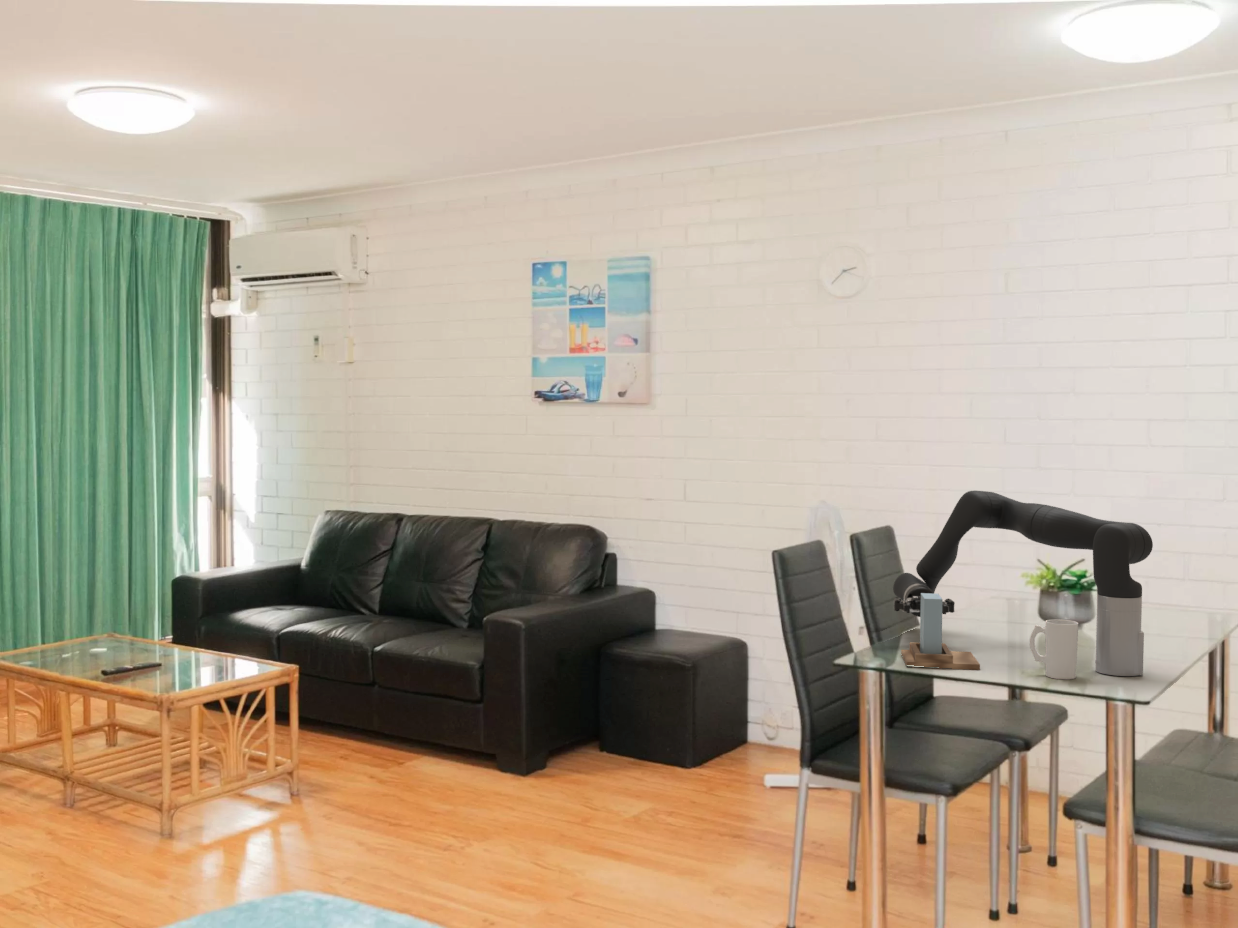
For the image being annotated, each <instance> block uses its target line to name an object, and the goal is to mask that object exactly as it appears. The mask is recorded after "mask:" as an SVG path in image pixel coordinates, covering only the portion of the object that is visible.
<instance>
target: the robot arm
mask: <svg viewBox="0 0 1238 928" xmlns="http://www.w3.org/2000/svg"><path fill="white" fill-rule="evenodd" d="M973 528H979V529H1002V530H1007V531H1008V530H1009V531H1013V532H1017V533H1020V534H1021V535H1022V536H1024V537H1025V538H1026V539H1028V540H1030V541H1032V542H1035V543H1039V544H1042V545H1046V546H1048V547H1050V546H1051V547H1054V548H1063V549H1073V550H1089V551H1092V565H1093V566H1092V567H1093V580H1094V583H1095V586H1096V595H1097V596H1096V629H1095V630H1096V632H1095V633H1096V635H1095V637H1096V638H1095V639H1096V640H1095V671H1096V672H1097V673H1100V674H1104V675H1107V676H1115V677H1117V676H1118V677H1135V676H1143V675H1144V647H1145V645H1144V644H1145V643H1144V641H1145V632H1143V630H1142V616H1143V615H1142V608H1143V607H1142V606H1143V605H1142V604H1143V586H1142V584H1141V583H1140V582H1138V581H1136V580H1135V579H1133V577H1132V576H1131V573H1130V572H1131V571H1130V565H1135V564H1137V563H1140V562H1142V561H1144V560H1146V559H1147V558H1148V557H1149V556H1150V555H1151V553H1152V550H1153V548H1154V547H1153V546H1154V545H1153V539H1152V537H1151V535H1150V534H1149V532H1148V531H1147V530H1146V529H1145V528H1144V527H1143V526H1141V525H1139V524H1137V523H1134V522H1122V521H1121V522H1120V521H1113V520H1106V519H1105V520H1104V519H1101V518H1100V519H1099V518H1097V517H1093V516H1089V515H1086V514H1082V513H1079V512H1076V511H1073V510H1068V509H1065V508H1062V507H1057V506H1054V505H1053V506H1052V505H1048V504H1042V503H1036V502H1035V503H1034V502H1033V503H1032V502H1031V503H1030V502H1028V503H1027V502H1022V501H1018V500H1015V499H1013V498H1009V497H1007V496H1004V495H1002V494H1001V493H996V492H993V491H984V490H969V491H967V492H965V493H963V495H962V496H961V497H960V498H959V499H958V501H957V503H956V504H955V506H954V508H953V510H952V511H951V514H950V515H949V518H948V519H947V520H946V523H945V524H944V526H943V528H942V530H941V532H940V534H939V535H938V537H937V538H936V540H935V542H934V543H932V546H931V547H930V548H929V550H928V551H927V552H926V553H925V554H924V555H923V557H922V558H921V560H919V562H918V563H917V564H916V567H915V568H916V569H915V570H916V574H917V575H918V576H919V578H918V577H917V576H915V575H914V574H912V573H909V572H903V573H901V574H900V575H898V577H896V579H895V580H894V583H893V586H892V588H893V589H892V590H893V594H894V595H895V596H896V597H893V610H894V611H895V612H899V611H900V610H901V611H902V612H903V613H906V614H911V615H913V616H915V617H918V618H920V610H921V593H932V594H935V592H936V590H937V587H938V585H939V583H940V581H941V580H942V579H943V578H944V576H945V575H946V574H947V573H948V571H950V569H951V568H952V566H953V565H954V563H955V561H956V560H957V557H958V552H959V545H960V542H961V540H962V538H963V537H964V536H965V535H966V534H967V533H968V532H969V531H970V530H972V529H973ZM920 578H921V579H920ZM948 613H955V601H954V600H952V599H951V598H945V599H944V601H943V600H942V615H947V614H948Z"/></svg>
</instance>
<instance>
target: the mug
mask: <svg viewBox="0 0 1238 928" xmlns="http://www.w3.org/2000/svg"><path fill="white" fill-rule="evenodd" d="M1040 633H1043V634H1044V635H1045V654H1044V655H1041V654H1040V653H1039V652H1038V650H1037V648H1036V641H1035V640H1036V637H1037V636H1038V634H1040ZM1078 638H1079V622H1077V621H1075V620H1069V619H1047V620H1045V626H1044V627H1043V626H1042V625H1040V624H1039V625H1038V624H1035V625H1034V628H1033V629H1032V631H1031V634H1030V636H1029V647H1030V651H1031V653H1032V657H1033V659H1034V661H1035V662H1041V663H1043V664H1044V665H1045V676H1046V677H1048V678H1050V679H1056V680H1074V679H1076V677H1077V665H1078V644H1079V643H1078V642H1079V639H1078Z"/></svg>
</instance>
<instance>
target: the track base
mask: <svg viewBox="0 0 1238 928" xmlns="http://www.w3.org/2000/svg"><path fill="white" fill-rule="evenodd" d="M900 650H901V651H900V653H901V654H902V655H901V654H900V655H901V657H902V656H903V657H902V660H903V659H904V660H903V662H904V661H905V662H904V664H905V663H906V664H905V666H906V665H914V666H924V667H939V668H938V669H942V668H952V669H951V670H975V671H979V670H981V663H979V660H977V659H976V657H975V656H974V654H973V653H972V652H971V651H959V650H958V651H953V650H950V648H949V647H948V646H947V644H946V643H944V642H942V654H921V653H920V642H912V641H911V642H909V649H900Z"/></svg>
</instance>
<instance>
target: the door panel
mask: <svg viewBox="0 0 1238 928" xmlns="http://www.w3.org/2000/svg"><path fill="white" fill-rule="evenodd" d="M943 600H944V599H943V598H942V597H941V595H940V594H939V593H934V594H932V593H921V610H920V617H919V621H920V622H919V625H920V628H919V643H920V653H921V654H942V643H943V614H942V601H943Z"/></svg>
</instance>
